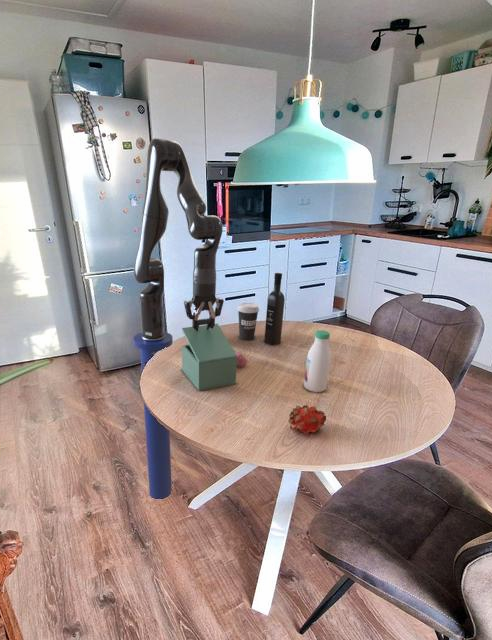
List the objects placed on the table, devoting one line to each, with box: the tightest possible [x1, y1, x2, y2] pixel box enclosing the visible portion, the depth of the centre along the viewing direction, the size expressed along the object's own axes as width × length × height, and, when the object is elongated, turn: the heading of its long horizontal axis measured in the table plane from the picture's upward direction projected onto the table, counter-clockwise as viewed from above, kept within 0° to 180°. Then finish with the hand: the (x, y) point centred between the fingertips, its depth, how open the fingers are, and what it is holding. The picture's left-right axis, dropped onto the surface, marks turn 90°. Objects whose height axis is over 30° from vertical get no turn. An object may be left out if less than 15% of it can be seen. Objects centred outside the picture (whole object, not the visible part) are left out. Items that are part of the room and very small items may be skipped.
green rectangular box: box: [181, 344, 238, 392], centre depth 135 cm, size 17×14×10 cm
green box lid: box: [181, 317, 237, 363], centre depth 130 cm, size 17×14×5 cm
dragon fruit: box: [288, 404, 327, 437], centre depth 107 cm, size 8×8×12 cm
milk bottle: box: [303, 329, 332, 393], centre depth 128 cm, size 8×8×20 cm
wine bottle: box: [263, 272, 286, 346], centre depth 163 cm, size 6×6×30 cm
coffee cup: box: [237, 302, 260, 341], centre depth 170 cm, size 10×10×15 cm
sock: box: [235, 351, 248, 368], centre depth 146 cm, size 8×4×4 cm, turn 25°
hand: (203, 328), depth 134 cm, fingers closed on green box lid, 5 cm apart
